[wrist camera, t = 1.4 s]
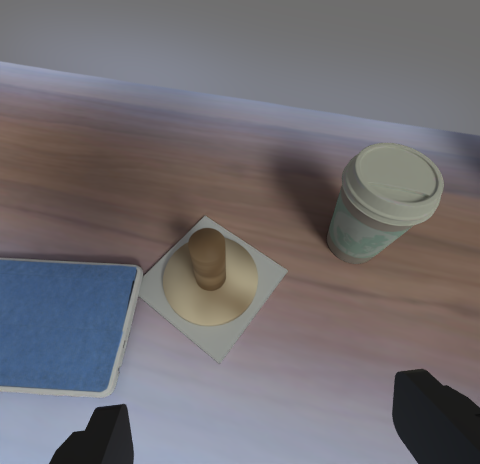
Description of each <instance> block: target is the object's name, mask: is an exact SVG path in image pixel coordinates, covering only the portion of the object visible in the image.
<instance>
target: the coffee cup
mask: <svg viewBox="0 0 480 464" xmlns="http://www.w3.org/2000/svg"><path fill="white" fill-rule="evenodd" d="M443 187H444V183H443V178H442V175H441V173H440V171H439V169H438V168H437V167H436V165H435V164H434V163H433V162H432V161H431V160H430V159H429V158H427V157H426V156H425V155H423V154H422V153H420V152H418V151H416V150H414V149H412V148H410V147H407V146H404V145H400V144H394V143H379V144H374V145H371V146H368V147H366V148H365V149H363V150H362V151H361V152H360V153H359V154H358V155H356V156H355V157H354V158H352V159H351V160H350V162H349V163H348V164H347V166H346V167H345V169H344V171H343V174H342V187H341V190H340V194H339V197H338V200H337V203H336V207H335V210H334V213H333V217H332V220H331V223H330V227H329V230H328V234H327V243H328V246H329V248H330V250H331V251H332V252H333V254H334V255H335V256H337V257H338V258H339V259H341V260H343V261H345V262H348V263H353V264H360V263H364V262H367V261H369V260H370V259H371V258H373V257H374V256H375V255H377V254H378V253H379V252H380V251H382V250H383V249H384V248H386V247H387V246H388V245H389V244H391V243H392V242H393V241H395V240H396V239H397V238H398V237H400V236H401V235H402V234H404V233H405V232H406V231H407V230H409V229H410V228H411V227H412V226H414V225H416V224H419V223H422V222H424V221H426V220H427V219H429V218H430V217H431V216H432V215H433V213H434V212H435V210H436V208H437V207H438V205H439V202H440V198H441V194H442V191H443Z"/></svg>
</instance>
